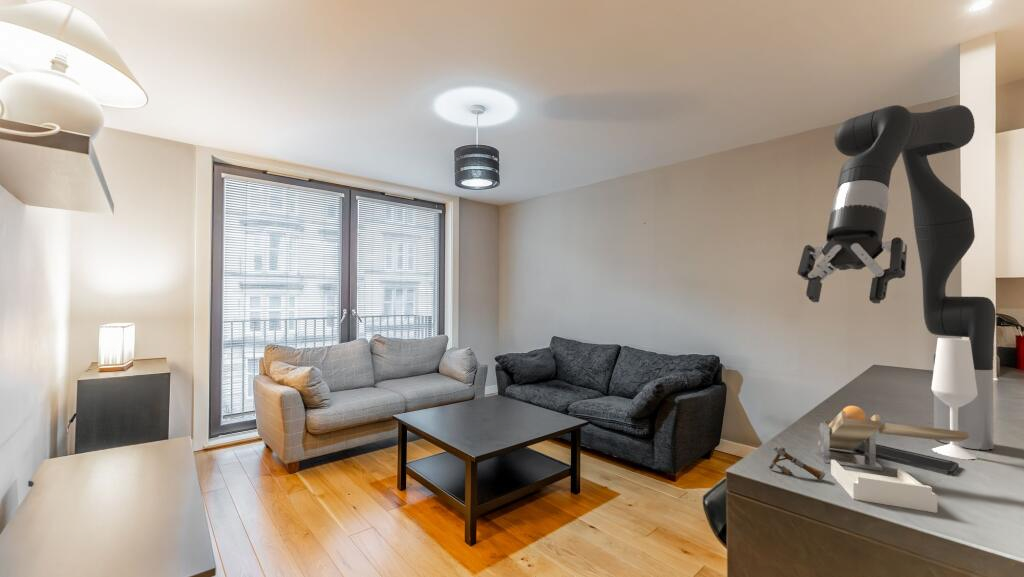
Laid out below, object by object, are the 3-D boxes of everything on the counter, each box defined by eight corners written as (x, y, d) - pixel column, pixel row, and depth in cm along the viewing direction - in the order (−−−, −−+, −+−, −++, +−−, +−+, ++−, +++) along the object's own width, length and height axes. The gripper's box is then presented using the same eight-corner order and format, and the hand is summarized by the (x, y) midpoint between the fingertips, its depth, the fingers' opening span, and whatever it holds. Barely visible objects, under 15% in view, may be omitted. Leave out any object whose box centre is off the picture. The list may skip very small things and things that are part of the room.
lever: (818, 446, 90) (816, 427, 92) (924, 460, 83) (918, 439, 85) (843, 422, 76) (839, 401, 78) (970, 436, 70) (963, 413, 72)
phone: (860, 440, 93) (959, 462, 81) (860, 445, 93) (959, 468, 81) (849, 447, 88) (952, 472, 76) (849, 453, 88) (952, 478, 76)
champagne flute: (929, 445, 93) (929, 336, 94) (974, 453, 88) (973, 339, 89) (933, 453, 88) (933, 338, 88) (981, 462, 83) (980, 341, 84)
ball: (839, 421, 81) (839, 403, 81) (861, 424, 80) (861, 405, 80) (845, 425, 78) (845, 406, 78) (869, 428, 77) (868, 408, 77)
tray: (830, 473, 76) (830, 453, 76) (901, 484, 72) (901, 463, 72) (853, 499, 66) (853, 476, 66) (937, 513, 62) (937, 488, 62)
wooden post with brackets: (763, 462, 78) (775, 442, 77) (812, 491, 74) (825, 469, 73) (763, 465, 76) (775, 444, 75) (812, 494, 72) (826, 473, 71)
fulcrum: (814, 452, 86) (815, 420, 87) (869, 459, 83) (869, 426, 83) (823, 462, 81) (824, 427, 81) (882, 470, 77) (882, 434, 78)
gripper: (920, 217, 68) (906, 310, 65) (820, 228, 81) (805, 307, 78) (903, 195, 65) (888, 293, 62) (802, 210, 77) (785, 293, 74)
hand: (842, 301), depth 70 cm, fingers open, 8 cm apart
